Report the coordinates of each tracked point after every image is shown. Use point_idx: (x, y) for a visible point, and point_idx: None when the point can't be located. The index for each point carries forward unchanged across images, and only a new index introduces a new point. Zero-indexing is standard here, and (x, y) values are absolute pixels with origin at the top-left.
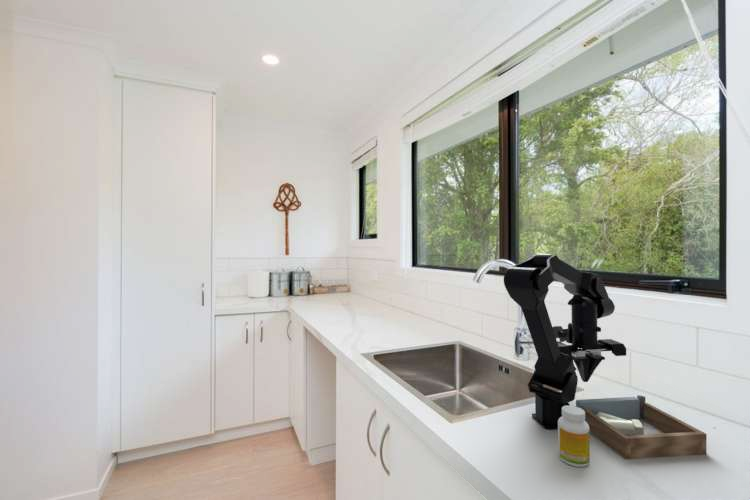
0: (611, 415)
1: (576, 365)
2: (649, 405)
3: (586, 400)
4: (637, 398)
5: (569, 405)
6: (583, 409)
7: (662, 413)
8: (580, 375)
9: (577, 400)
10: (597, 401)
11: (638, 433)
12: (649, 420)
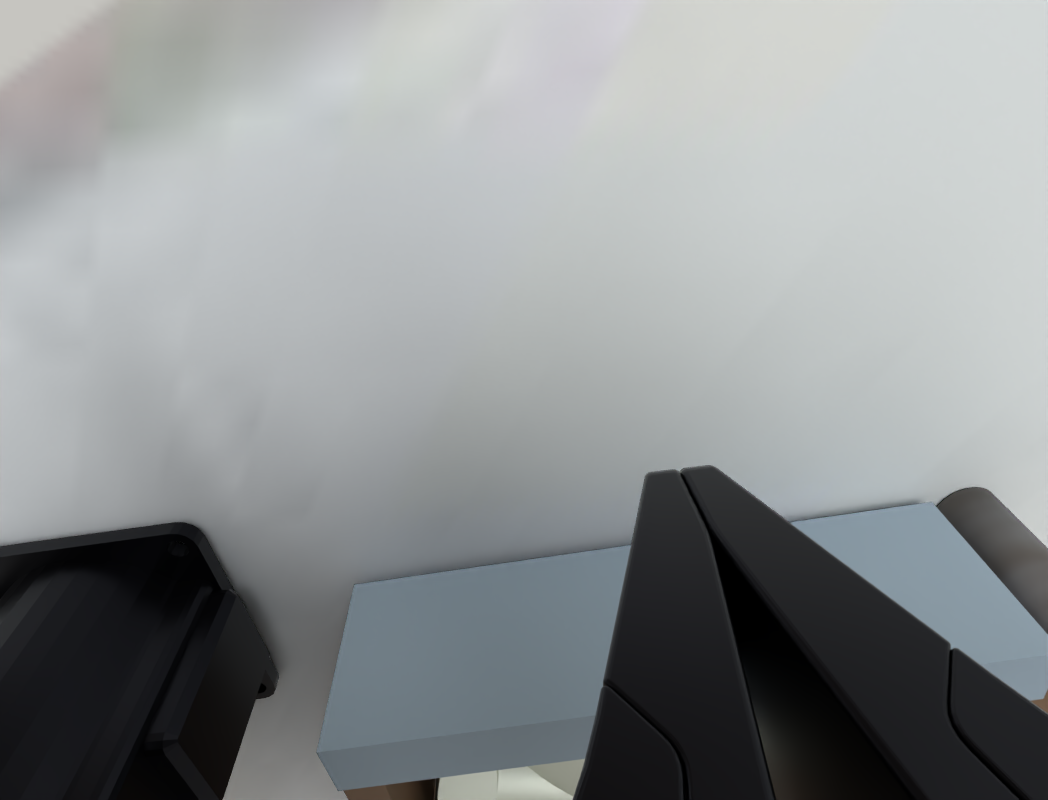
0: (576, 769)
1: (585, 777)
2: (1042, 707)
3: (429, 755)
4: (1046, 683)
5: (221, 795)
6: (348, 796)
7: None
8: (635, 546)
9: (328, 759)
10: (537, 763)
11: None
12: None
